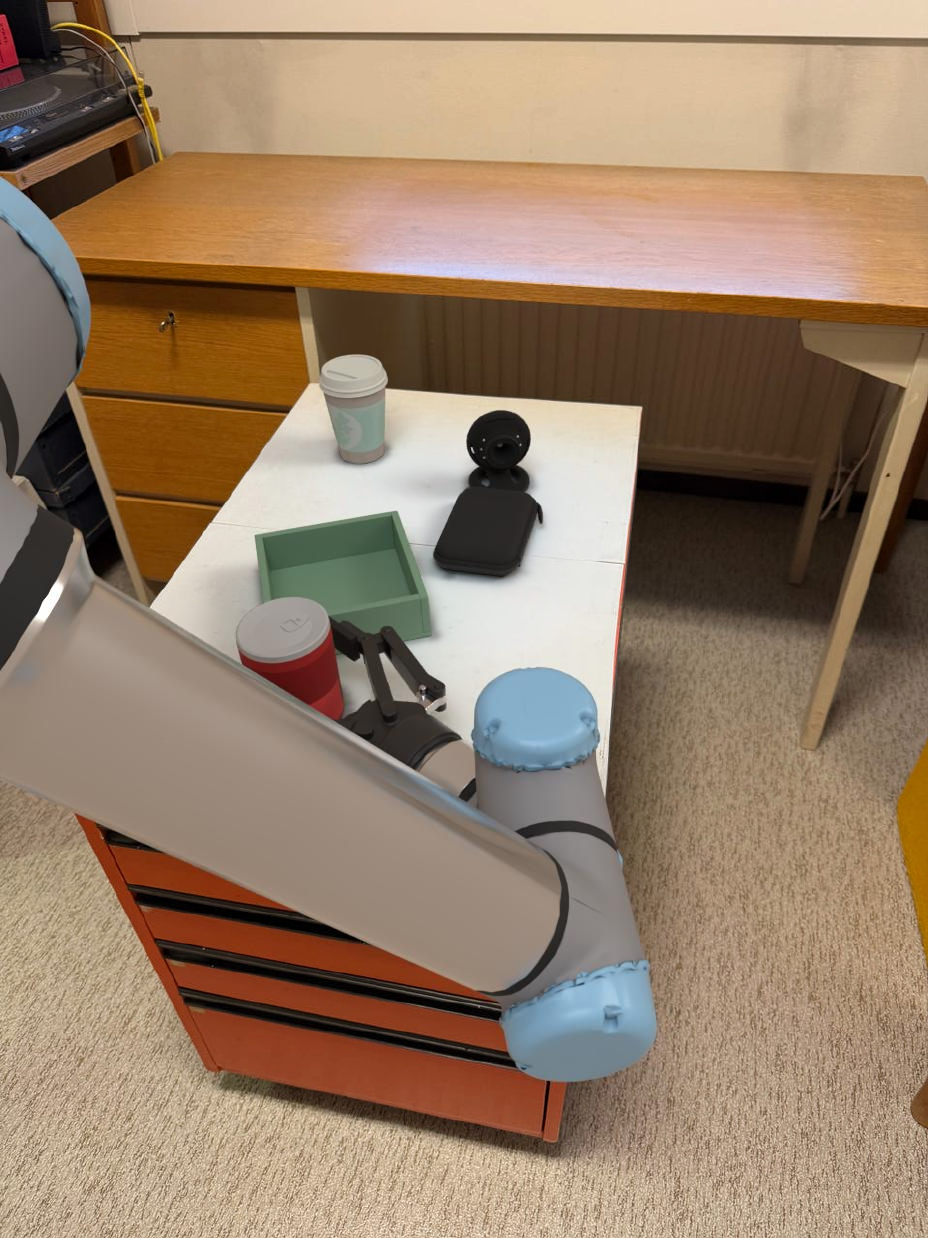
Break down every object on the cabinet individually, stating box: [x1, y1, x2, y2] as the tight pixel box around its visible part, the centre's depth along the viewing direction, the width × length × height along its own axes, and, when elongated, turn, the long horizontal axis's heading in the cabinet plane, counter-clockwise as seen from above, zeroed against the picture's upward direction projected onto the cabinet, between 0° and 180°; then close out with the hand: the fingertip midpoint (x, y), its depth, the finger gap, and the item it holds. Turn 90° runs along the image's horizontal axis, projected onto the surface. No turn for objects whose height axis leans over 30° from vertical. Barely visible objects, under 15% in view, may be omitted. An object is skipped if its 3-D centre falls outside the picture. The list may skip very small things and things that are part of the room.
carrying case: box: [432, 486, 544, 577], centre depth 99 cm, size 11×3×15 cm
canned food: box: [234, 597, 345, 720], centre depth 77 cm, size 8×8×11 cm
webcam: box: [465, 409, 532, 492], centre depth 106 cm, size 8×8×10 cm
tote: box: [254, 510, 432, 655], centre depth 91 cm, size 16×16×5 cm
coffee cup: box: [318, 354, 389, 465], centre depth 112 cm, size 8×8×12 cm
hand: (263, 646), depth 79 cm, fingers open, 10 cm apart
